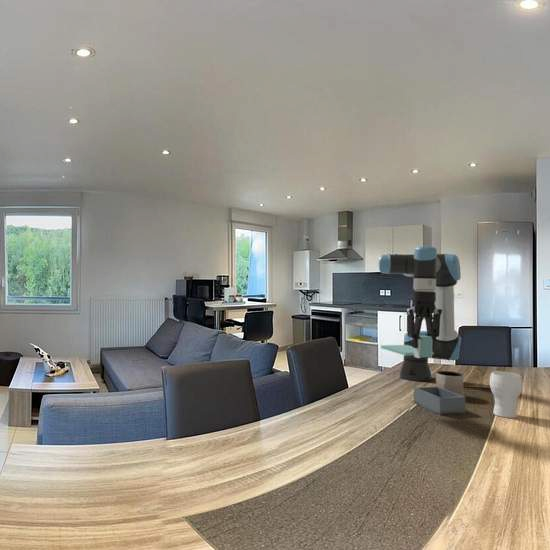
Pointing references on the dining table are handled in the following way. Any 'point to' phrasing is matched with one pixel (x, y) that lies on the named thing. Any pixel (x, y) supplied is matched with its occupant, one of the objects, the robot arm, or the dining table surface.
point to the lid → (409, 350)
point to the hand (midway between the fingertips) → (422, 357)
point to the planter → (450, 381)
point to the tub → (439, 400)
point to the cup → (505, 392)
